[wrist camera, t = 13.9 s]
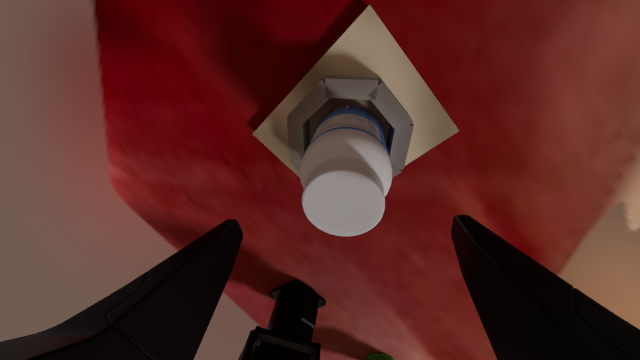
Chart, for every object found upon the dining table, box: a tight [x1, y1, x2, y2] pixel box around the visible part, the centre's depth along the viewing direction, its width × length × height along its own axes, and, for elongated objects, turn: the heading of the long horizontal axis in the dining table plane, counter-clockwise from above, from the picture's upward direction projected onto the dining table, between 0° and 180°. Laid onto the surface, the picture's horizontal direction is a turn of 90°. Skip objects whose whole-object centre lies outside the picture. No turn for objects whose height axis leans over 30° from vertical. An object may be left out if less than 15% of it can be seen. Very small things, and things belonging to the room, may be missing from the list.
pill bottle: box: [300, 105, 392, 236], centre depth 15 cm, size 6×5×10 cm
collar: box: [253, 5, 459, 178], centre depth 18 cm, size 13×11×4 cm
